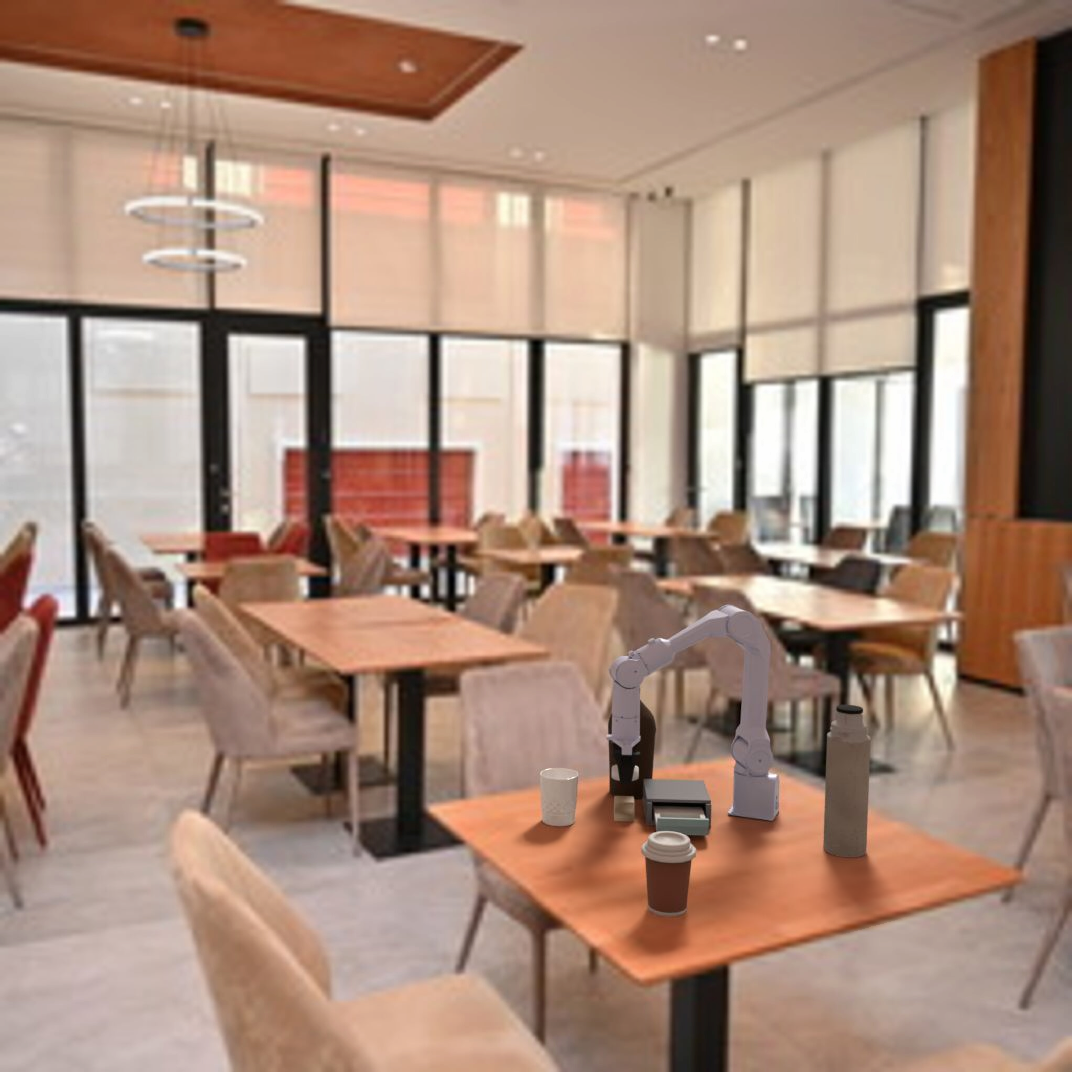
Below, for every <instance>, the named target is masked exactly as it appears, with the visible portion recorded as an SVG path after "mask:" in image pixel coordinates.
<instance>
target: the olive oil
mask: <svg viewBox="0 0 1072 1072" xmlns="http://www.w3.org/2000/svg"><path fill="white" fill-rule="evenodd" d="M655 719H656V718H655V716H654V714H653V713H652V712H651V710H650V709H649V708H648V707H647V705H646V704H644V702H643V701H642V700H641V699H640V741H639V742H638V746H637V748H636V750H635V752H640V756H639V758H638V760H637V762H636V766H638V767H639V778H638V779H637V780H634V781H632V782H631V785H621V784H620V781H618V780H615V779H613V778H612V766H613V765H616V764H617V763H616V760H615V758H614V756H613V754H612V750H614V748H613V745H612V743H611V741H612V740H608V764H609V765H608V766H609V767H608V768H609V769H608V770H609V771H608V772H609V775H608V776H609V780H608V781H609V793H610V794H611V795H612V796H634V800H639V799H643V779H653V777H654V776H653V775H654V773H653V772H654V760H655V745H656V733H657V723H656V720H655ZM611 734H612V712H611V714H610V716H609V719H608V722H607V735H611Z"/></svg>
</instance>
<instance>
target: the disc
mask: <svg viewBox="0 0 1072 1072" xmlns="http://www.w3.org/2000/svg"><path fill="white" fill-rule="evenodd" d="M612 778H613V779H615V780H618V781H620V780H619V773H618V767H617V764H616V765H613V766H612ZM638 778H639V767H638V766H636V765H635V768H634V773H633V778H632V781H634V780H637V779H638Z"/></svg>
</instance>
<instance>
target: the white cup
mask: <svg viewBox="0 0 1072 1072" xmlns="http://www.w3.org/2000/svg"><path fill="white" fill-rule="evenodd" d="M539 782H540V785H539V786H540V789H539V790H540V804H541V805H540V808H541V816H542V817H541V819H542V822H543V824H545V825H548V826H552V827H568V826H571V825H572V824H574V823H575V821H576V809H577V803H578V787H579V772H578V771H576V770H575V769H570V768H563V767H553V768H547V769H543V770H541V771H540V772H539Z"/></svg>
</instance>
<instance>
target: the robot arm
mask: <svg viewBox="0 0 1072 1072" xmlns="http://www.w3.org/2000/svg"><path fill="white" fill-rule="evenodd" d="M708 638H718V639H719V638H721V639H727V638H731V639H732V640H734V642H735V643H736V644H737V645H738V646H739V647H740V648H741V649H742V650H743V652H744V657H743V672H742V673H743V675H742V676H743V677H742V688H741V689H742V692H741V709H740V724H739V725H738V726H737V728H736V730H735V736H734V739H733V740H732V743H731V745H730V754H731V757H732V759H733V760H734V761H735V764H734V766H733V784H732V785H733V788H732V789H733V790H732V791H733V792H732V795H733V796H732V797H733V798H732V806H731V807H730V808H729V810H728V811H727V815H729V816H734V817H735V816H736V817H742V818H750V819H755V820H756V819H757V820H763V821H771V822H772V821H774V819H775V818H776V816H777V815H778V813H779V811H780V807H779V806H780V803H779V802H780V775H779V774H778V773H777V774H775V773H772V772H770V770H771V769H772V767H773V765H774V762H775V761H774V754H773V751H772V749H771V738H770V736H769V733H768V730H767V713H768V712H767V710H768V696H769V681H770V680H769V678H770V665H771V664H770V662H771V650H772V649H771V643H770V640H769V639H768V636H767V634H766V632H765V630H764V628H763V626H762V621H761V620H760V619H759V618H757V616H755V615H754V614H753V613H752V612H750V611H748V610H744V609H741V608H739V607H737V606H735V605H733V604H725V605H723V606H720V607H719V608H718V609H714V610H711V611H710V612H708V613H707V614H706V615H705V616H703V617H702V618H700V619H699V620H697V621H695V622H693V623H692V624H691V625H689V626H686V628H684V629H682V630H681V631H679V632H677V633H676V634H674V635H672V636H670V638H668V639H665V638H661V637H658V638H656V639H655V638H653V637H651V638H650V639H647V644H645V645H643V646H641V647H639V648H637V649H636V650H634V651H633V650H629V651H628V655H625V656H624V655H620V656H618V657H617V658H615V659H614V660H613V662H612V663H611V665H610V668H608V671H609V676H610V677H611V678H612V692H611V695H612V697H611V700H612V702H611V707H612V708H611V713H612V734H611V735H608V734H606V735H605V739H606V740H607V741H609V740H612V741H611V743H612V745H613V748H614V750H612V754H613V756H614V758H615V760H616V763H617V767H618V773H619V780H620V784H621V785H631V782H632V778H633V773H634V768H635V765H636V762H637V760H638V758H639V756H640V752H635V750H636V748H637V746H638V742H639V741H640V700H641V684H642V683H643V681H644V678H646V677H649V676H650V675H651V674H654V673H655V672H657V671H659V670H660V669H662V668H665V667H667V666H668V665H670V664H672V663H673V662H674V660H675V659H674V658H675V656H676V654H678V653H679V652H682V651H684V650H685V649H687V648H690V647H692V646H694V645H695V644H698V643H700V642H702V641H704V640H706V639H708Z"/></svg>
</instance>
